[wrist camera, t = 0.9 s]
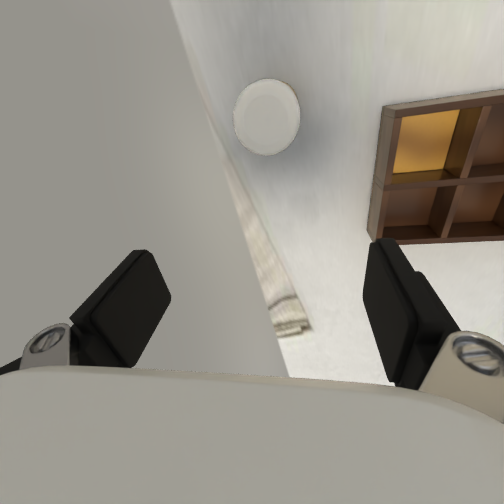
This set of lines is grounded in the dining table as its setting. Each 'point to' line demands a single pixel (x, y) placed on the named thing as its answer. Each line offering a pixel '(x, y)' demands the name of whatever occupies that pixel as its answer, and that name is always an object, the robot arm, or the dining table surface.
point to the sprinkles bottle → (266, 116)
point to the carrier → (440, 171)
